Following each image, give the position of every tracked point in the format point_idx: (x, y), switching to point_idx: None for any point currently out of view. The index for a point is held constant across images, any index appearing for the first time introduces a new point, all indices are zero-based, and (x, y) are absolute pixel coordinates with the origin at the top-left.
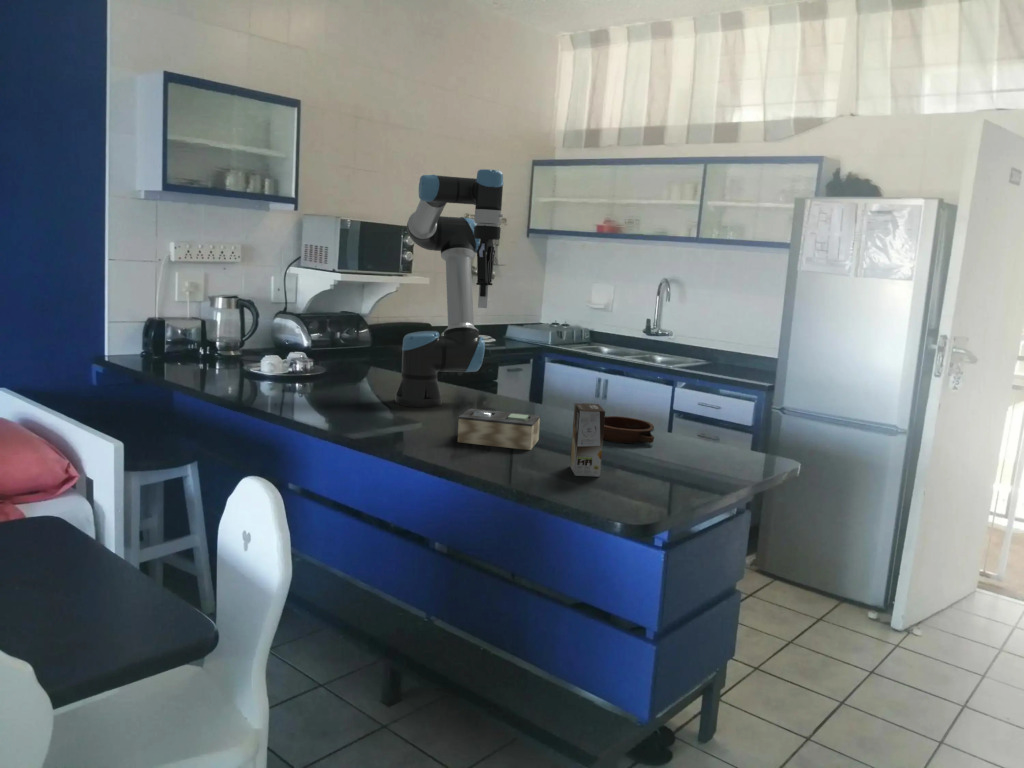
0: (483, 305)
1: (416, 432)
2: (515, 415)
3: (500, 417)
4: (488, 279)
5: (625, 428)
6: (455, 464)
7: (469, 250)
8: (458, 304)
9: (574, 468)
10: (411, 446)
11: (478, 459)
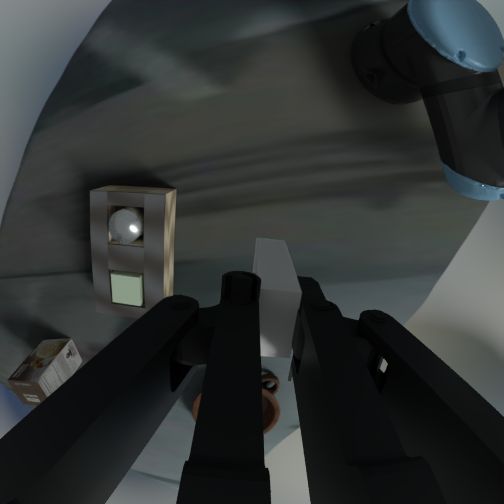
0: (253, 271)
1: (146, 105)
2: (127, 285)
3: (115, 260)
4: (293, 379)
5: (267, 409)
6: (19, 211)
7: None
8: None
9: (43, 342)
10: (66, 129)
11: (45, 233)
